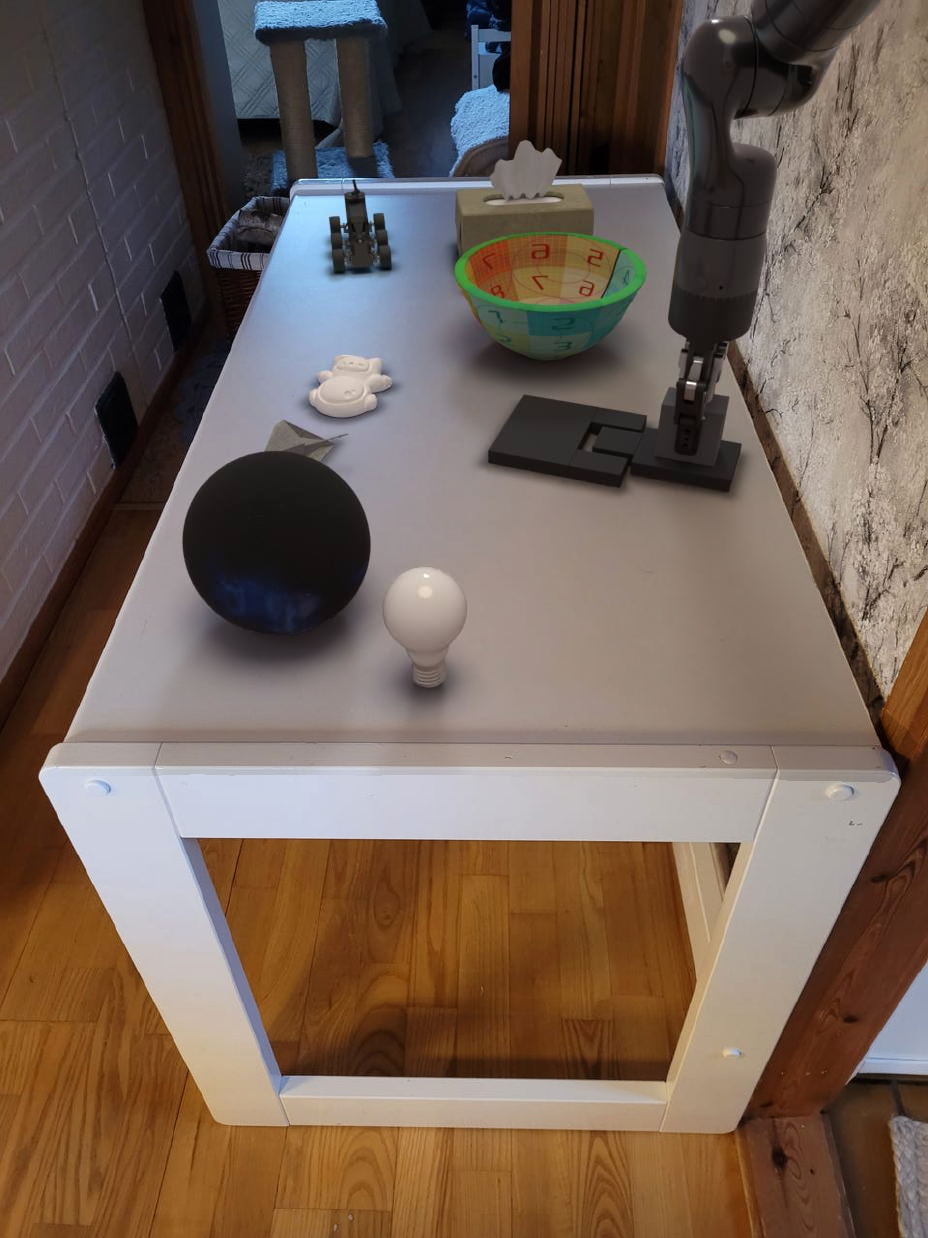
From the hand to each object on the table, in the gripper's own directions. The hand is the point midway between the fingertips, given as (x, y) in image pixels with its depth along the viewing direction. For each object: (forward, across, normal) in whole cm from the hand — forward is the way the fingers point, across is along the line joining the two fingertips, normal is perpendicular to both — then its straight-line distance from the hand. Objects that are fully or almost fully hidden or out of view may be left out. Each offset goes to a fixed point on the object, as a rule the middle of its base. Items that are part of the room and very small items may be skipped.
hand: (689, 441), depth 96 cm
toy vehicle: (+3, +40, +56) cm, 68 cm away
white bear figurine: (+3, +3, +40) cm, 40 cm away
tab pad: (+3, 0, +2) cm, 4 cm away
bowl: (+3, +20, +21) cm, 29 cm away
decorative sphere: (+3, -33, +28) cm, 44 cm away
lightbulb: (+3, -37, +14) cm, 40 cm away
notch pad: (+3, 0, +12) cm, 13 cm away
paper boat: (+3, -14, +36) cm, 39 cm away
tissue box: (+3, +46, +33) cm, 56 cm away
